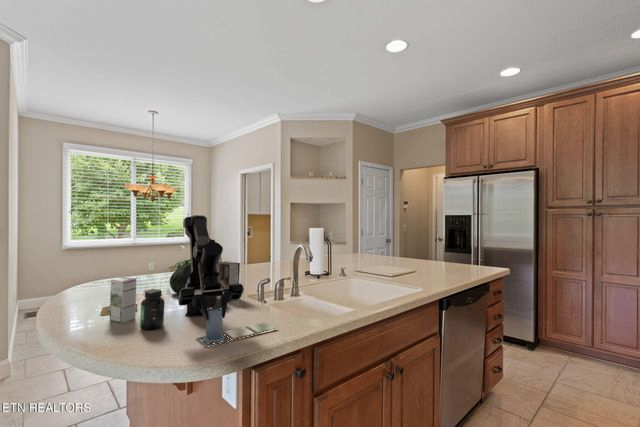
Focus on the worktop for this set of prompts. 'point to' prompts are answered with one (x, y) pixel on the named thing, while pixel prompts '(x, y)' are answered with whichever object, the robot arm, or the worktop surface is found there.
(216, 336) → the blue flanged cylinder
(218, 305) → the die
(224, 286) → the coffee box
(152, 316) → the supplement bottle
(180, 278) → the squash
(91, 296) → the worktop surface
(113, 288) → the syrup box
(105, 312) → the cookie
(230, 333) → the game board
